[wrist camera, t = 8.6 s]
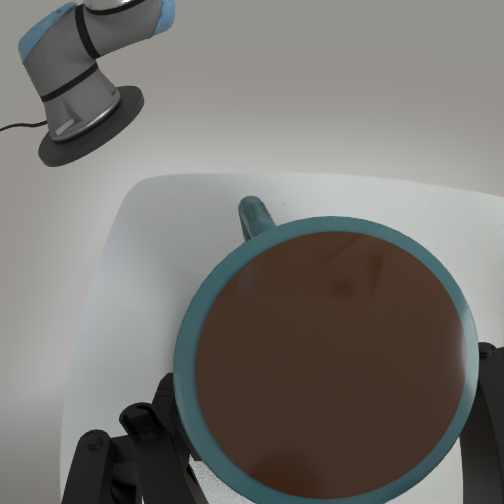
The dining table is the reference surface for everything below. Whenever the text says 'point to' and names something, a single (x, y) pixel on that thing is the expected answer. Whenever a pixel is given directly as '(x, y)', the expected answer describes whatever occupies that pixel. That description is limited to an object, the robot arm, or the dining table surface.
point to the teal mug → (325, 362)
